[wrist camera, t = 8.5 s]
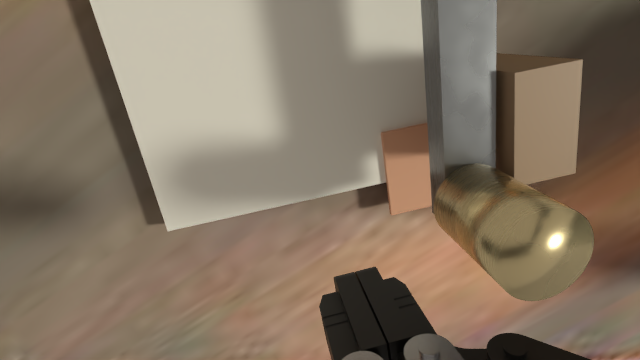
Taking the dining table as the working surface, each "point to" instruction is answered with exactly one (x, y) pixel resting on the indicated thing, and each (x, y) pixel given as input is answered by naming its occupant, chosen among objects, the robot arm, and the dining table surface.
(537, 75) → the plate
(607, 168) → the dining table surface
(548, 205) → the bar
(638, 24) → the dining table surface
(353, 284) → the robot arm
